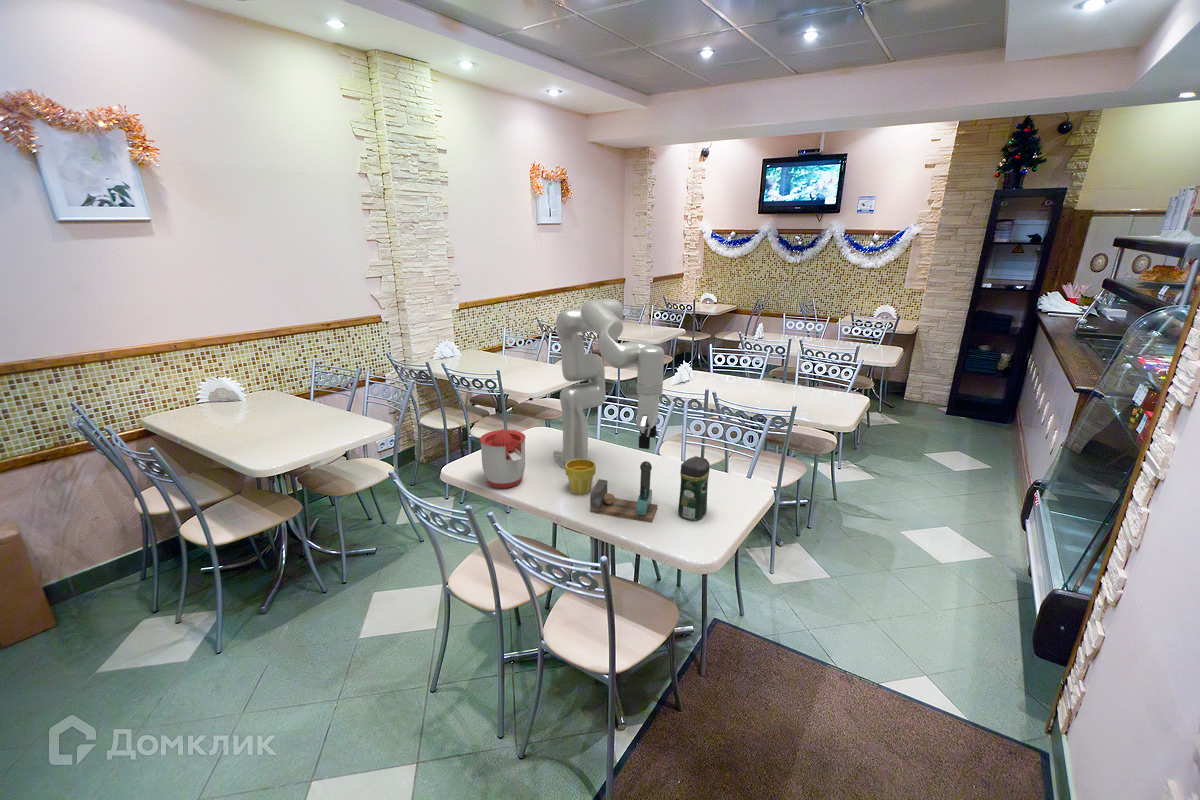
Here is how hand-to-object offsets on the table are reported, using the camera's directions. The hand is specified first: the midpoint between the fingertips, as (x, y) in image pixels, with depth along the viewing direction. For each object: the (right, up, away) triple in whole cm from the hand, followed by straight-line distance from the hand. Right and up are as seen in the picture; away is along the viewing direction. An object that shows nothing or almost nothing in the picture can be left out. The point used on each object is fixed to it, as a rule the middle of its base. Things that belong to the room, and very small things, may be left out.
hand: (647, 442), depth 156 cm
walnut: (-12, -21, +10) cm, 26 cm away
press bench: (-7, -23, +9) cm, 25 cm away
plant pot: (-21, -19, +22) cm, 36 cm away
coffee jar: (+15, -24, +8) cm, 29 cm away
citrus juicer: (-48, -17, +27) cm, 57 cm away
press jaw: (0, -22, +7) cm, 23 cm away
